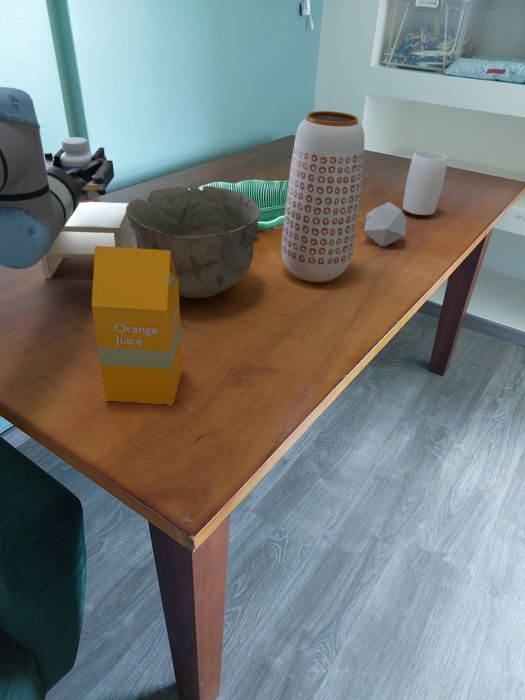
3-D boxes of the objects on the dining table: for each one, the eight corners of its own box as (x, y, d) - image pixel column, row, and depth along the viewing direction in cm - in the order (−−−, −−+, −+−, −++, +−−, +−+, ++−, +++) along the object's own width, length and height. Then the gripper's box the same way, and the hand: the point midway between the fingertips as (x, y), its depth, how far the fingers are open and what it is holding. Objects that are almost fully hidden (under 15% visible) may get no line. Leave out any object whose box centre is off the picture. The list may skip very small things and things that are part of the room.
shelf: (44, 278, 95) (34, 225, 89) (62, 250, 105) (53, 200, 99) (124, 280, 96) (118, 227, 90) (134, 252, 106) (130, 203, 100)
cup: (393, 210, 133) (404, 151, 125) (419, 206, 137) (432, 149, 129) (415, 222, 127) (429, 161, 119) (442, 217, 131) (457, 158, 123)
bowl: (237, 256, 107) (240, 181, 98) (275, 310, 90) (281, 226, 81) (125, 267, 100) (117, 188, 92) (143, 328, 84) (135, 238, 75)
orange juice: (120, 366, 75) (103, 232, 64) (183, 370, 75) (177, 237, 64) (105, 402, 69) (83, 261, 57) (173, 406, 69) (165, 266, 57)
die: (376, 233, 122) (358, 201, 116) (415, 221, 117) (398, 187, 111) (373, 260, 117) (354, 227, 111) (413, 249, 113) (395, 214, 106)
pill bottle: (65, 194, 94) (55, 136, 89) (96, 192, 96) (89, 135, 90) (68, 204, 90) (58, 144, 85) (100, 202, 92) (93, 143, 86)
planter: (297, 294, 95) (313, 127, 79) (268, 262, 105) (278, 108, 89) (361, 284, 100) (390, 124, 83) (328, 254, 110) (348, 106, 93)
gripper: (-14, 223, 76) (35, 174, 95) (116, 227, 78) (139, 178, 97) (-28, 170, 72) (26, 130, 91) (110, 175, 73) (136, 134, 92)
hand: (84, 154), depth 94 cm, fingers closed on pill bottle, 5 cm apart
